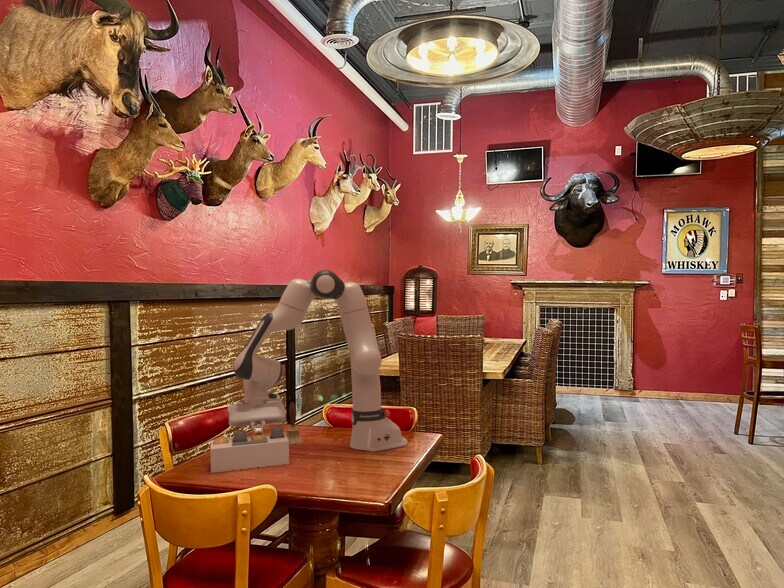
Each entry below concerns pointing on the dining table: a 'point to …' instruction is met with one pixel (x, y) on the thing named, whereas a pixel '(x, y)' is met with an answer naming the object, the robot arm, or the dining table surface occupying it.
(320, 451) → the dining table surface
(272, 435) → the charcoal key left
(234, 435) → the charcoal key middle
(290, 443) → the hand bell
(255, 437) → the orange key
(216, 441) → the orange key
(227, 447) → the keypad
